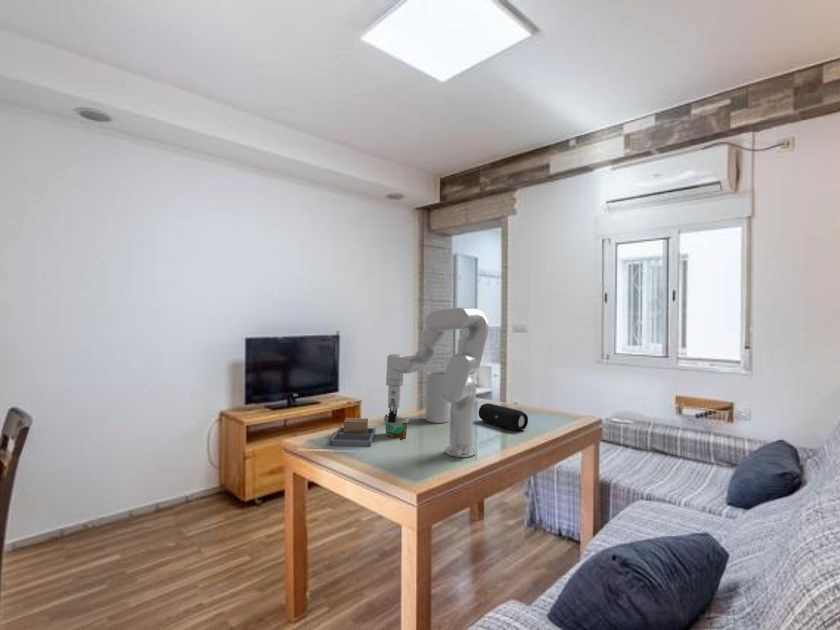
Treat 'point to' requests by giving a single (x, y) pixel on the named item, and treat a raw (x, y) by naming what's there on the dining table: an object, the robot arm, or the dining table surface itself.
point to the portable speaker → (503, 416)
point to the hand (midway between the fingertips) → (392, 419)
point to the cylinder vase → (436, 399)
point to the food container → (396, 427)
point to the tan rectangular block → (356, 426)
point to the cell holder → (352, 438)
